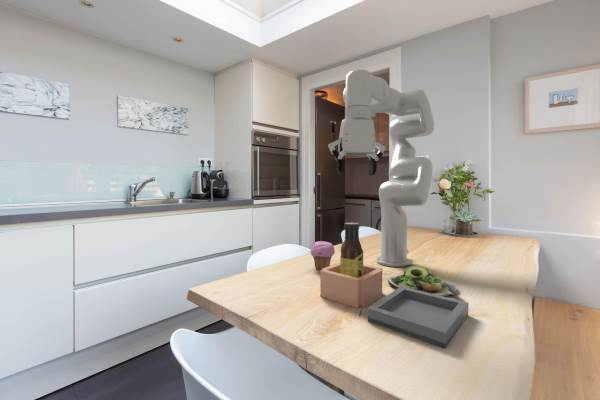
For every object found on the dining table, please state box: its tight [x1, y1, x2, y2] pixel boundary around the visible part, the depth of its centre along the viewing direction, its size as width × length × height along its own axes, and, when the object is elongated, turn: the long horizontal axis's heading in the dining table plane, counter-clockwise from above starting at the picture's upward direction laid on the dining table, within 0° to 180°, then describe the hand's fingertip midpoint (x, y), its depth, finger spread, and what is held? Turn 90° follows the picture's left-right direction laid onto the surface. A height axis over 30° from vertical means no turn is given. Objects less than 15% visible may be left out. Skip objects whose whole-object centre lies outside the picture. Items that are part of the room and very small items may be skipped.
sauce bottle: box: [339, 222, 364, 278], centre depth 79 cm, size 7×6×20 cm
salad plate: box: [387, 265, 461, 297], centre depth 84 cm, size 19×18×5 cm
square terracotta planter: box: [319, 262, 383, 309], centre depth 79 cm, size 13×13×7 cm
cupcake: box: [310, 240, 336, 271], centre depth 103 cm, size 9×9×10 cm
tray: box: [367, 286, 469, 349], centre depth 65 cm, size 18×16×3 cm
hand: (356, 174), depth 84 cm, fingers open, 9 cm apart
